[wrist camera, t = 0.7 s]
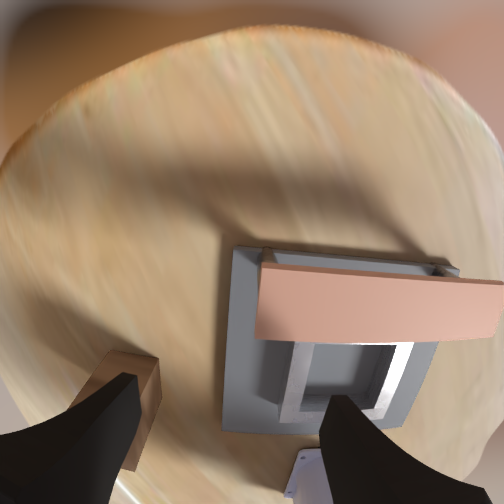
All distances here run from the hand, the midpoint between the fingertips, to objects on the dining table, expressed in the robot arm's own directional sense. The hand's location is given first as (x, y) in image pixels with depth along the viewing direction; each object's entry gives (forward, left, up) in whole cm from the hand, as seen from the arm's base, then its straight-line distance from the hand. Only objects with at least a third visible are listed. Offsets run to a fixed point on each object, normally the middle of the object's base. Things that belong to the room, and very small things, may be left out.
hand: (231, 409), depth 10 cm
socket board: (-4, -7, -10) cm, 13 cm away
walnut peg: (-7, +8, -10) cm, 15 cm away
